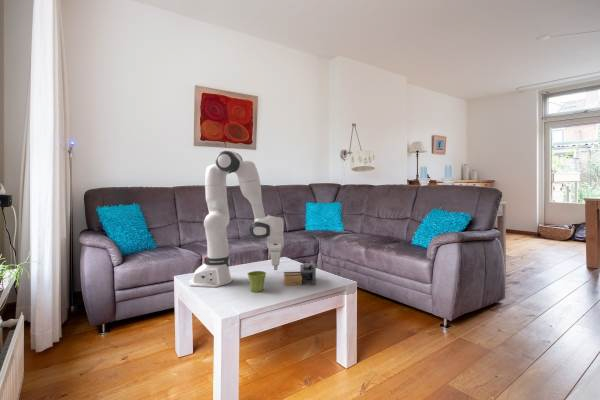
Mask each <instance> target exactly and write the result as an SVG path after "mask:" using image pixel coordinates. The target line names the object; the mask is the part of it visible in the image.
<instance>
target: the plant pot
mask: <svg viewBox="0 0 600 400" xmlns="http://www.w3.org/2000/svg"><path fill="white" fill-rule="evenodd" d="M266 275H267V272H266V271H261V270H253V271H250V272H248V273H247V276H248V281H249V287H250V292H253V293H260V292H263V290H264V286H265V279H266Z"/></svg>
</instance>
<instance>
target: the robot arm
mask: <svg viewBox="0 0 600 400" xmlns="http://www.w3.org/2000/svg"><path fill="white" fill-rule="evenodd" d="M232 173H234V174H236V176H237V178H238V179H237V180H238V185H239V189H240V192H241V194H242V196H243V197H244V198H245V199H246V200H248V202H249V204H250V205H251V209H252V214H253V217H254V222H252V223H251V224H250V225H249V228H248V229H249V230H248V231H249V235H250V236H251V237H252V238H254V239H258V240H259V239H264V238H266V239H267V240H266V241H267V243H266V246H267V247H266V248H267V249H268V251H269V252H270V260H271V266H272V267H273V270H274V271H278V266H279V265H280V261H281V260H280V259H281V252H282V251H283V248H284V247H285V243H284V241H285V239H284V229H285V228H284V227H285V226H284V219H283V217H282V216H281V215H279V214H276V213H270V214H268V215H267V214H266V211H265V207H264V203H263V200H262V199H263V197H262V186H261V181H260V176H259V172H258V169H257V166H256V164H255V163H254V162H253V161H251V160H244V159H243V157H242V156H241V155H240V154H239V153H238V152H235V151H232V150H223V151H222V150H221V151H220V152H219V153H218V154H217V155H216V156H215V164H214V163H213V164H209V166H207V167H206V169H205V175H204V189H205V190H204V192H205V202H206V205H207V209H208V214H207V215H206V216H205V218H204V220H203V228H204V231H205V238H206V244H207V246H206V247H207V248H206V249H207V251H206V253H207V255H204V258H203V264H201V265H200V266H199V267H198V268H197V269H195V271H194V273H193V277H192V278H191V279H190V280H189V281H188V286H189V287H202V288H203V287H204V288H205V287H206V288H207V287H208V288H218V287H221V286H223V285H227V284H229V283H231V282H232V281H233V278H232V276H231V272H230V255H229V240H228V239H229V238H228V234H227V227H228V225H229V224H230V219H231V218H230V212H229V210H230V209H229V204H228V203H229V202H228V196H227V195H228V193H227V192H228V191H227V190H228V189H227V175H230V174H232Z"/></svg>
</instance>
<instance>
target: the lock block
mask: <svg viewBox="0 0 600 400" xmlns="http://www.w3.org/2000/svg"><path fill="white" fill-rule="evenodd" d="M302 280H303V279H302V275H301V273H300V271H283V284H284V286H298V285H300V286H302V285H303V283H302Z"/></svg>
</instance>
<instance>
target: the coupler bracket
mask: <svg viewBox="0 0 600 400" xmlns="http://www.w3.org/2000/svg"><path fill="white" fill-rule="evenodd" d="M299 270H300V273H301V275H302V280H310V281H311V284H312V286H316V285H317V283H316V279H317V275H316V274H317V267H316V264H315V261H314V260H310V262H305V263H303V264H300V269H299Z"/></svg>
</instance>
